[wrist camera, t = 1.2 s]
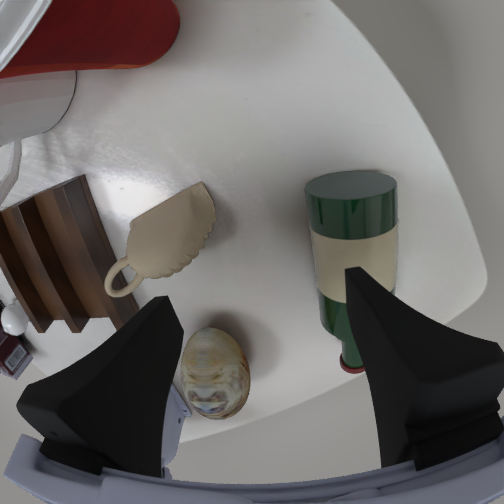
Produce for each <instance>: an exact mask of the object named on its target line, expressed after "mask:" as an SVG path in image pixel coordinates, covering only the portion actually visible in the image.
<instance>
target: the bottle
mask: <svg viewBox="0 0 504 504" xmlns="http://www.w3.org/2000/svg"><path fill="white" fill-rule="evenodd" d="M305 196H306V203H307V209H308V216H309V228H310V236H311V243H312V251H313V259H314V268H315V277H316V284H317V290H318V300H319V310H320V320H321V323H322V325H323V327H324V328H325V329H326V330H327V331H328V332H329V333H330V334H332V335H334V336H336V337H337V338H338V339H339V340H341V341H342V353H341V355H340V366H341V368H342V369H343V370H344V371H346V372H348V373H352V374H357V373H361V372H364V371H365V369H364V366H363V363H362V360H361V357H360V354H359V351H358V349H357V346H356V343H355V340H354V337H353V334H352V331H351V327H350V323H349V319H348V314H347V310H346V288H345V270H344V269H346V268H352V267H357V266H360V267H361V268H363V269H364V270H365V271H366V272H367V273H368V274H369V275H370V276H372V277H373V278H374V279H375V280H376V281H377V282H378V283H380V284H381V285H382V286H383V287H384V288H386V289H387V290H388V291H389V292H391V293H392V294H393V295H394V296H395V289H396V281H397V266H398V236H399V219H398V192H397V182H396V180H395V179H394V178H393V177H391V176H389V175H386V174H382V173H378V172H371V171H347V172H338V173H333V174H328V175H324V176H321V177H318V178H316V179H314V180H312V181H310V182H309V183H307V185H306V186H305Z"/></svg>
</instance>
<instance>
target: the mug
mask: <svg viewBox="0 0 504 504" xmlns="http://www.w3.org/2000/svg"><path fill="white" fill-rule="evenodd" d="M75 82H76V71H75V70H71V71H57V72H46V73H37V74H29V75H22V76H15V77H9V78H3V79H0V147H1V146H3V145H6V144H9V143H10V157H9V163H8V168H7V174H6V175H5V176H4V178H3V179H2V181H1V182H0V206H1V204H2V203H3V201H4V199H5V198H6V196H7V195H8V193H9V192H10V190H11V189H12V187H13V186H14V184H15V183H16V181H17V180H18V175H19V168H20V161H21V155H22V146H21V139H24V138H27V137H31V136H34V135H37V134H40V133H43V132H46V131H48V130H49V129H51V128H52V127H53V126H54V125H56V124H57V123H58V122H59V121H60V119H61V118H62V116H63V115H64V113H65V112H66V111H67V109H68V106H69V104H70V101H71V99H72V97H73V93H74V87H75Z"/></svg>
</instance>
